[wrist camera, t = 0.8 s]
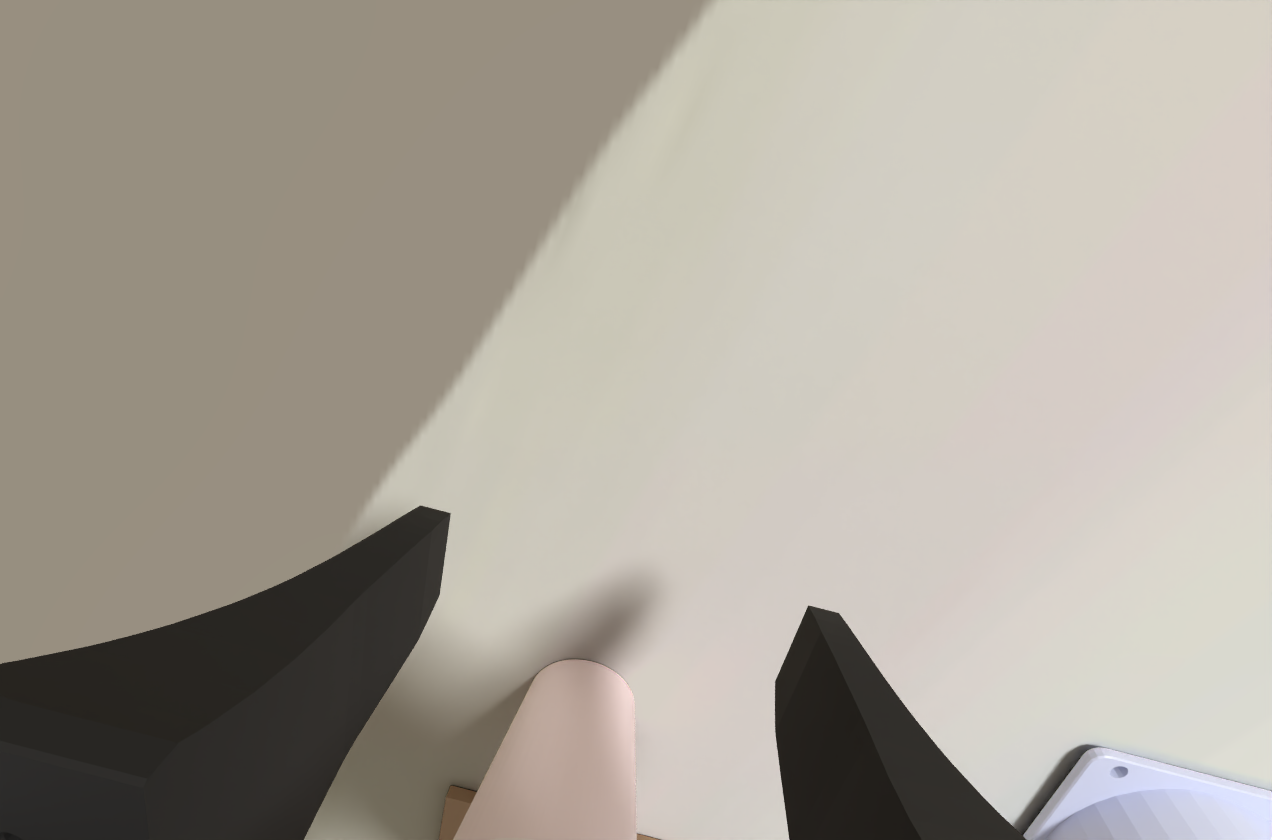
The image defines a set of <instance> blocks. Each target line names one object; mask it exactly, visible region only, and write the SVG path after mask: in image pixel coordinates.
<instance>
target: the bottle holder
mask: <svg viewBox="0 0 1272 840" xmlns="http://www.w3.org/2000/svg"><path fill="white" fill-rule="evenodd" d="M476 793H477V792H475V791H471V790H467V789H463V788H459V787H456V786H452V785H451V786H450V788H449V791H448V793H447V796H446V800H445V806H444V812H443V818H442V824H441V830H440V835H439V840H453V839H454V837H455V835H456V833H457V831H458V829H459V827H460V825H461V823H462V821H463V819H464V817H465V815H466V813H467V811H468V809H469V807H470V805H471V803H472V801H473V799H474V797H475V795H476ZM637 840H659V839H655V838H651V837H647V836H644V835H640V834H637Z"/></svg>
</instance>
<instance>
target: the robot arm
mask: <svg viewBox="0 0 1272 840" xmlns="http://www.w3.org/2000/svg"><path fill="white" fill-rule="evenodd" d="M450 514H451V513H447V512H443V511H440V510H436V509H432V508H428V507H424V506H419V507H417V508H415V509H414V510H412V511H410V512H408V513H407V514H405V515H403V516H402V517H400V518H399V519H397V520H395V521H394V522H392V523H390V524H389V525H387V526H386V527H384V528H382V529H381V530H379V531H377V532H376V533H374V534H372V535H371V536H369V537H367V538H366V539H364V540H362V541H361V542H359V543H357V544H355V545H354V546H352V547H350V548H348V549H347V550H345V551H343V552H341V553H340V554H338V555H336V556H334V557H332V558H331V559H329V560H327V561H325V562H323V563H321V564H319V565H317V566H315V567H313V568H311V569H309V570H307V571H306V572H304V573H302V574H300V575H298V576H296V577H294V578H292V579H290V580H287V581H285V582H283V583H281V584H279V585H277V586H274V587H272V588H270V589H267V590H265V591H262V592H260V593H258V594H255V595H253V596H251V597H248V598H246V599H243V600H240V601H238V602H235V603H233V604H230V605H227V606H224V607H221V608H219V609H216V610H212V611H209V612H207V613H204V614H201V615H198V616H195V617H192V618H189V619H186V620H183V621H180V622H177V623H174V624H171V625H167V626H164V627H161V628H157V629H154V630H150V631H147V632H143V633H140V634H136V635H132V636H128V637H124V638H120V639H116V640H112V641H109V642H105V643H101V644H96V645H92V646H88V647H83V648H78V649H74V650H69V651H64V652H58V653H54V654H49V655H44V656H39V657H35V658H29V659H24V660H19V661H13V662H7V663H2V664H0V840H304V838H305V836H306V834H307V832H308V830H309V828H310V826H311V824H312V822H313V820H314V818H315V816H316V813H317V811H318V810H319V808H320V806H321V804H322V802H323V800H324V798H325V796H326V794H327V792H328V790H329V788H330V786H331V784H332V782H333V780H334V778H335V776H336V774H337V772H338V770H339V768H340V766H341V764H342V762H343V760H344V759H345V757H346V755H347V753H348V752H349V750H350V748H351V747H352V745H353V743H354V741H355V740H356V738H357V736H358V735H359V733H360V732H361V730H362V728H363V727H364V725H365V724H366V722H367V721H368V719H369V717H370V716H371V714H372V713H373V711H374V710H375V708H376V706H377V705H378V703H379V702H380V700H381V699H382V697H383V695H384V694H385V692H386V691H387V689H388V688H389V686H390V684H391V683H392V681H393V680H394V678H395V677H396V675H397V673H398V672H399V670H400V669H401V667H402V665H403V664H404V662H405V661H406V659H407V657H408V656H409V654H410V653H411V651H412V649H413V648H414V646H415V645H416V643H417V641H418V640H419V638H420V635H421V633H422V631H423V629H424V627H425V625H426V623H427V621H428V619H429V617H430V615H431V612H432V610H433V608H434V606H435V604H436V601H437V599H438V597H439V595H440V588H441V580H442V573H443V566H444V558H445V551H446V544H447V536H448V529H449V522H450ZM775 732H776V741H777V749H778V757H779V765H780V773H781V780H782V787H783V795H784V802H785V810H786V817H787V824H788V832H789V839H790V840H1272V791H1269V790H1265V789H1261V788H1257V787H1253V786H1250V785H1246V784H1242V783H1238V782H1234V781H1230V780H1227V779H1223V778H1219V777H1215V776H1211V775H1207V774H1203V773H1200V772H1196V771H1192V770H1188V769H1184V768H1180V767H1176V766H1173V765H1169V764H1165V763H1161V762H1157V761H1153V760H1150V759H1146V758H1142V757H1138V756H1134V755H1130V754H1126V753H1123V752H1119V751H1115V750H1111V749H1107V748H1100V747H1097V748H1092V749H1090V750H1087V751H1086V752H1085V753H1084V754H1083V755H1082V757H1081V758H1080V759H1079V761H1078V762H1077V763H1076V765H1075V766H1074V767H1073V769H1072V770H1071V772H1070V773H1069V774H1068V776H1067V777H1066V778H1065V780H1064V781H1063V782H1062V784H1061V785H1060V786H1059V788H1058V789H1057V790H1056V792H1055V793H1054V794H1053V796H1052V797H1051V798H1050V800H1049V801H1048V802H1047V804H1046V805H1045V806H1044V808H1043V809H1042V811H1041V812H1040V813H1039V815H1038V816H1037V817H1036V819H1035V820H1034V821H1033V823H1032V824H1031V825H1030V827H1029V828H1028V829H1027V831H1026V832H1025V833H1024V835H1023V836H1022V835H1021V834H1020V833H1019V832H1018V831H1017V830H1016V829H1015V828H1014V827H1013V826H1012V825H1011V824H1010V823H1009V822H1008V821H1006V820H1005V819H1004V818H1003V817H1002V816H1001V815H1000V814H999V813H998V812H997V811H996V810H995V809H994V808H993V807H992V806H991V805H990V804H989V803H988V802H987V801H986V800H985V799H984V798H983V797H982V796H981V794H980V793H979V792H978V791H977V790H976V789H975V788H974V787H973V786H972V785H971V784H970V783H969V781H968V780H967V779H966V778H965V777H964V776H963V775H962V774H961V773H960V772H959V771H958V770H957V769H956V767H955V766H954V765H953V764H952V763H951V762H950V761H949V760H948V758H947V757H946V756H945V755H944V754H943V753H942V751H941V750H940V749H939V748H938V747H937V745H936V744H935V743H934V742H933V741H932V739H931V738H930V737H929V736H928V734H927V733H926V732H925V731H924V729H923V728H922V727H921V726H920V725H919V723H918V722H917V721H916V720H915V718H914V717H913V716H912V714H911V713H910V712H909V710H908V709H907V708H906V707H905V705H904V704H903V703H902V701H901V700H900V699H899V697H898V696H897V695H896V693H895V692H894V690H893V689H892V688H891V686H890V685H889V684H888V682H887V681H886V679H885V678H884V677H883V675H882V674H881V672H880V671H879V670H878V668H877V667H876V665H875V664H874V662H873V661H872V660H871V658H870V657H869V655H868V654H867V652H866V651H865V649H864V648H863V647H862V645H861V644H860V642H859V641H858V639H857V638H856V636H855V635H854V634H853V632H852V631H851V629H850V628H849V626H848V625H847V624H846V622H845V621H844V620H843V618H842V617H841V616H840V614H839V613H836V612H832V611H828V610H824V609H820V608H816V607H812V606H808V608H807V610H806V612H805V615H804V617H803V619H802V621H801V624H800V626H799V628H798V631H797V633H796V635H795V637H794V640H793V642H792V644H791V647H790V649H789V651H788V654H787V656H786V658H785V660H784V663H783V665H782V667H781V670H780V672H779V674H778V677H777V679H776V681H775Z"/></svg>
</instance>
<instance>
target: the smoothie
mask: <svg viewBox="0 0 1272 840" xmlns="http://www.w3.org/2000/svg"><path fill="white" fill-rule="evenodd" d="M453 840H637V822H636V755H635V702H634V696H633V693H632V691H631V689H630V687H629V686H628V684H627V683H626V682H625V680H624V679H623V678H622V677H621V676H620V675H618V674H617V673H616V672H614V671H613V670H611V669H610V668H608V667H606V666H604V665H601V664H599V663H596V662H592V661H587V660H580V659H571V660H563V661H559V662H555V663H553V664H550V665H549V666H547V667H545V668H544V669H542V670H541V671H540V672H539V673H538V674H537V675H536V677H535V678H534V680H533V682H532V684H531V686H530V688H529V690H528V692H527V694H526V696H525V698H524V700H523V702H522V704H521V706H520V708H519V710H518V712H517V714H516V716H515V718H514V720H513V722H512V724H511V725H510V727H509V729H508V731H507V733H506V735H505V737H504V739H503V741H502V743H501V745H500V747H499V749H498V751H497V753H496V755H495V757H494V759H493V761H492V763H491V765H490V767H489V769H488V771H487V773H486V775H485V777H484V779H483V781H482V783H481V785H480V787H479V789H478V791H477V793H476V795H475V797H474V799H473V801H472V803H471V805H470V807H469V809H468V811H467V813H466V815H465V817H464V819H463V821H462V823H461V825H460V827H459V829H458V831H457V833H456V835H455V837H454V839H453Z"/></svg>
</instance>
